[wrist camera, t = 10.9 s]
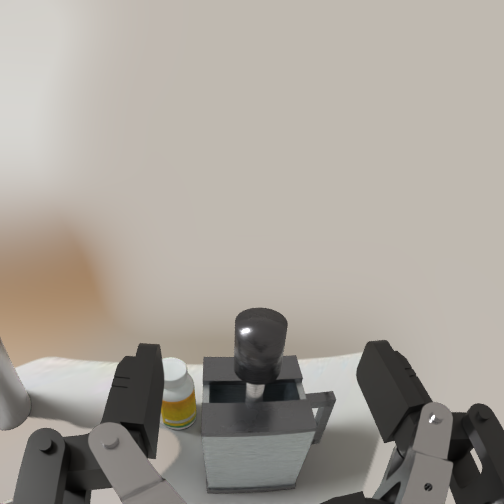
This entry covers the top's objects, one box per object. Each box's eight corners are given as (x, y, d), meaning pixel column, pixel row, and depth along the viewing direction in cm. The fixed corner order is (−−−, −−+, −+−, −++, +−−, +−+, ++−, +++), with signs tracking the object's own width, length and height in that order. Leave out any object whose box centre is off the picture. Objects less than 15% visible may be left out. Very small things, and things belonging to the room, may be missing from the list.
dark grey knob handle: (219, 469, 28) (215, 352, 20) (217, 421, 34) (215, 297, 27) (284, 466, 28) (317, 349, 21) (275, 419, 35) (296, 297, 27)
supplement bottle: (150, 413, 38) (138, 365, 34) (180, 395, 41) (174, 347, 38) (174, 437, 35) (164, 391, 31) (205, 417, 38) (202, 370, 34)
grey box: (207, 492, 27) (198, 434, 22) (206, 428, 37) (201, 355, 31) (320, 484, 29) (353, 423, 23) (304, 423, 38) (324, 352, 33)
